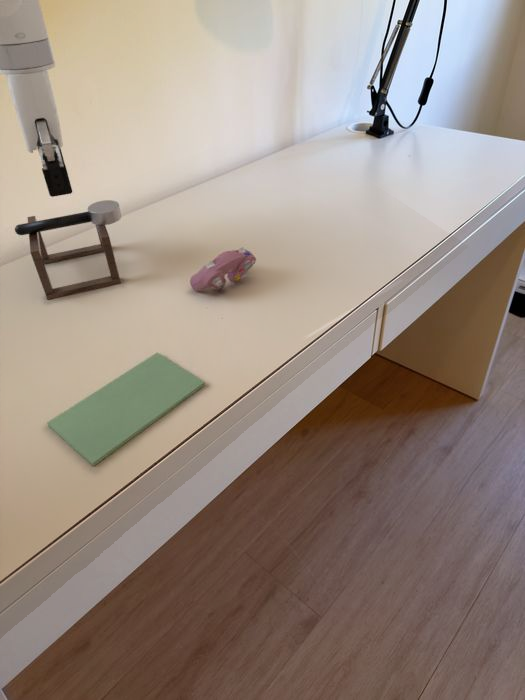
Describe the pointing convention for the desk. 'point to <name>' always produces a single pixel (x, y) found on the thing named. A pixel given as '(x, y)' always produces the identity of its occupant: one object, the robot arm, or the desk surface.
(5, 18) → the robot arm
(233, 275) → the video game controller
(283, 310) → the desk surface
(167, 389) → the mat
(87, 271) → the desk surface
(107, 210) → the grey saucepan
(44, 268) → the rack
